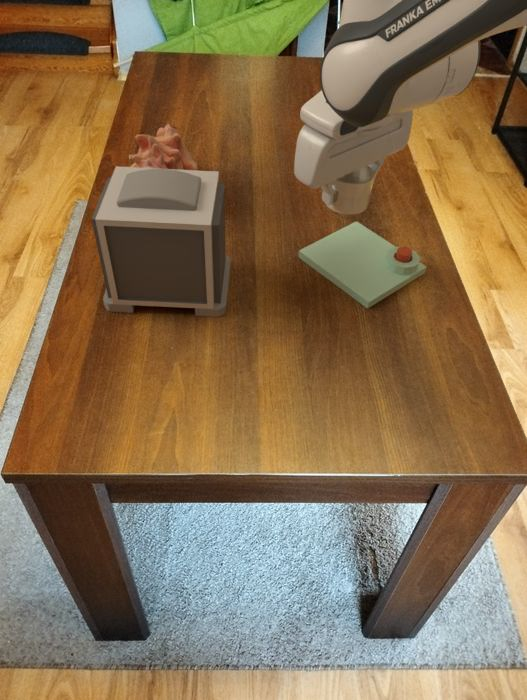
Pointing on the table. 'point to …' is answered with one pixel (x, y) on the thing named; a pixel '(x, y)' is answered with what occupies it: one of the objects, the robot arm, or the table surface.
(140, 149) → the seashell
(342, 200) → the beige cup
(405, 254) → the button
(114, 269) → the alarm clock
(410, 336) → the table surface
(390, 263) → the scale
